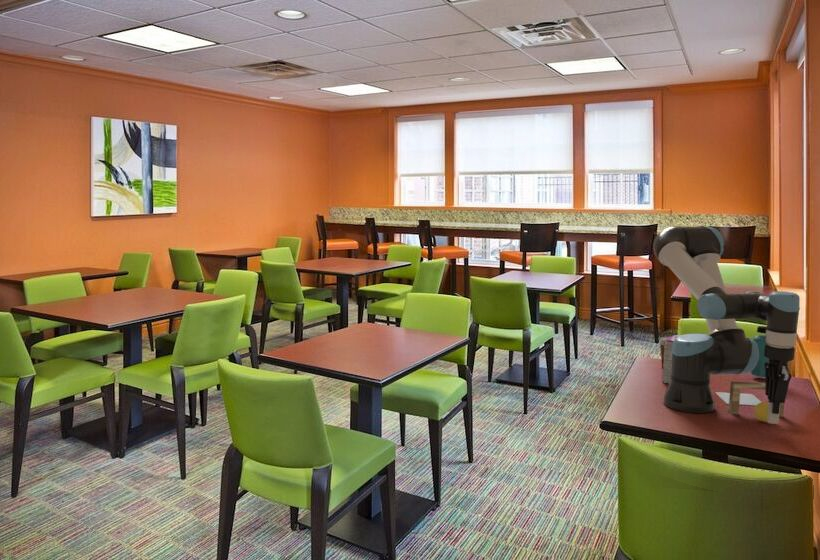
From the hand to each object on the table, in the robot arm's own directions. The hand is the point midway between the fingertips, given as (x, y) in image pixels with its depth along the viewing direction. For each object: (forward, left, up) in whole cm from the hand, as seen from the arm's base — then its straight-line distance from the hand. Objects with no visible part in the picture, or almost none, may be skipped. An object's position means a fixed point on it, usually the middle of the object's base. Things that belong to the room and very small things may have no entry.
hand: (772, 422), depth 180 cm
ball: (0, +6, +1) cm, 6 cm away
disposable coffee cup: (-14, +62, -2) cm, 64 cm away
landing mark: (0, +27, -2) cm, 27 cm away
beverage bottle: (+16, +54, -2) cm, 56 cm away
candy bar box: (-17, +45, -2) cm, 48 cm away
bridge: (0, +13, -2) cm, 13 cm away
